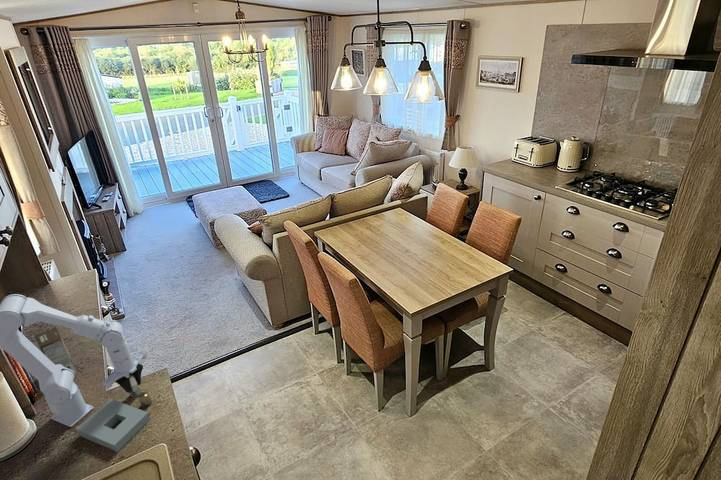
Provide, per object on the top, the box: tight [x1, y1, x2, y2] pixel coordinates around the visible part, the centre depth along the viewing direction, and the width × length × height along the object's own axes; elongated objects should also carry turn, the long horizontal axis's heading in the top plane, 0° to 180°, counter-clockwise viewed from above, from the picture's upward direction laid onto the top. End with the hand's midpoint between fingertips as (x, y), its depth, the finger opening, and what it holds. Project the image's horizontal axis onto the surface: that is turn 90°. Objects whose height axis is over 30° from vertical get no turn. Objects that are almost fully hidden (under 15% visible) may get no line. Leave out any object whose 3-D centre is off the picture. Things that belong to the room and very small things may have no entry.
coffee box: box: [34, 327, 78, 375], centre depth 144 cm, size 9×6×16 cm
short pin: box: [137, 391, 152, 409], centre depth 132 cm, size 3×3×4 cm
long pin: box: [125, 373, 142, 398], centre depth 135 cm, size 3×3×8 cm
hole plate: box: [75, 398, 152, 453], centre depth 124 cm, size 16×12×3 cm
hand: (133, 387), depth 135 cm, fingers closed on long pin, 3 cm apart
